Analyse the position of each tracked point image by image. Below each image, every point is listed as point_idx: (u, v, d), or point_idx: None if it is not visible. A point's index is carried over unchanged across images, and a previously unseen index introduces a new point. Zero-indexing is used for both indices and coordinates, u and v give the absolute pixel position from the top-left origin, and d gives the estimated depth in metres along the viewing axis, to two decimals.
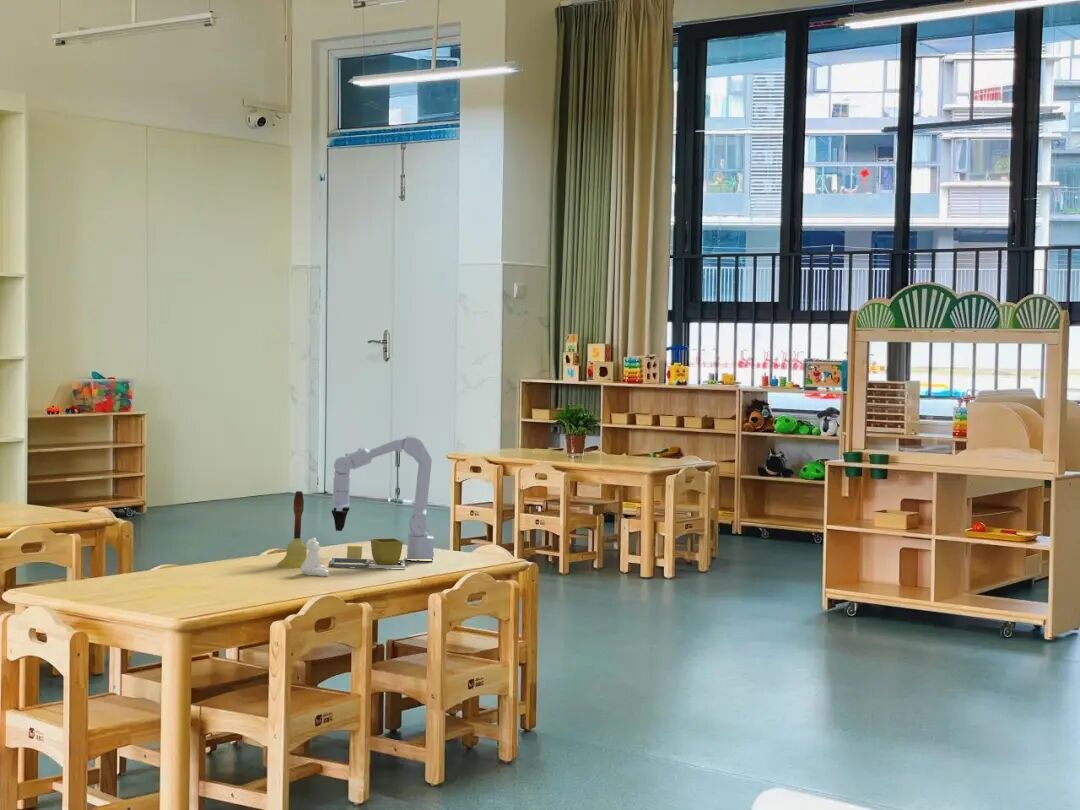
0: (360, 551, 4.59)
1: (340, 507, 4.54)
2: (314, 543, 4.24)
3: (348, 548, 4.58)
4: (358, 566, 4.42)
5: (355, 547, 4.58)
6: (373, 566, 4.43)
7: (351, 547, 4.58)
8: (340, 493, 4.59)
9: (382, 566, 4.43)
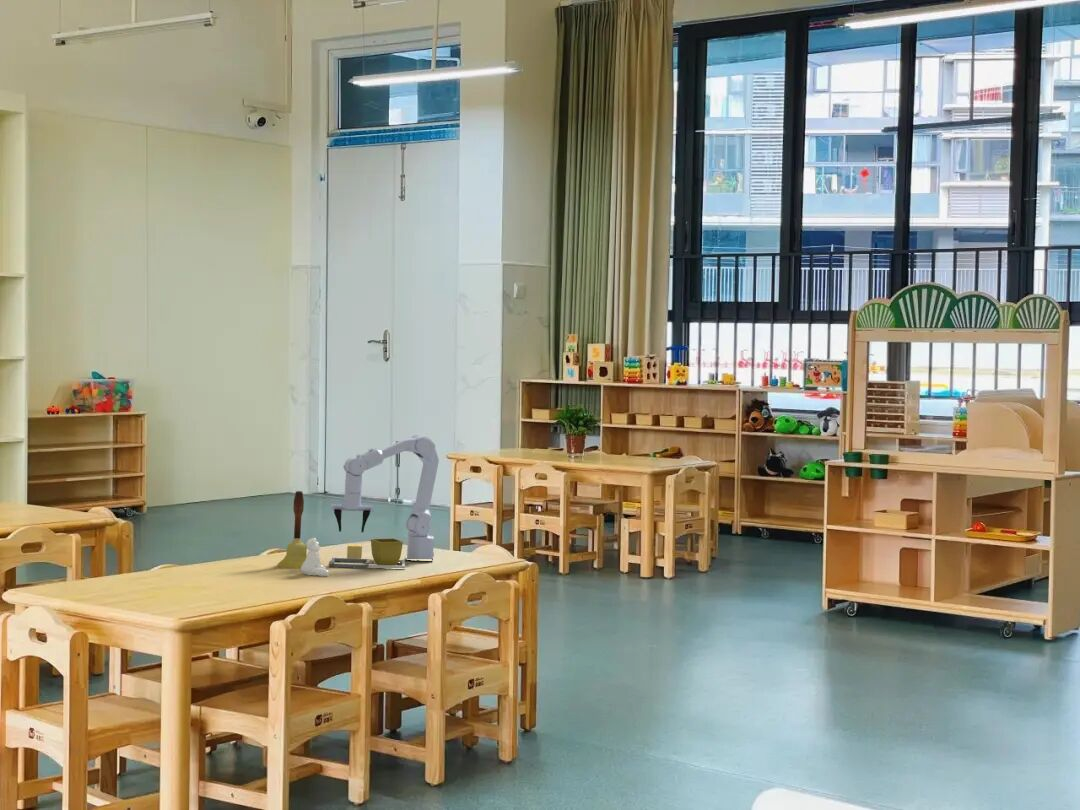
0: (360, 551, 4.59)
1: (331, 506, 4.53)
2: (314, 543, 4.24)
3: (348, 548, 4.58)
4: (358, 566, 4.42)
5: (355, 547, 4.58)
6: (373, 566, 4.43)
7: (351, 547, 4.58)
8: None
9: (382, 566, 4.43)
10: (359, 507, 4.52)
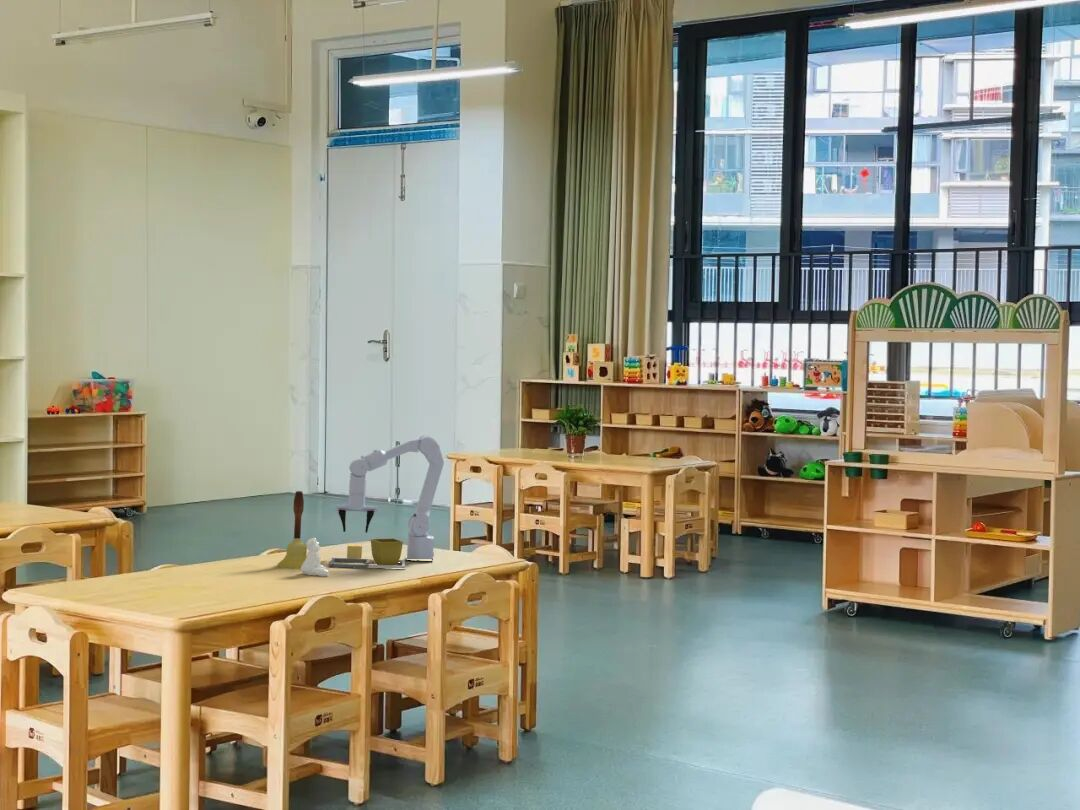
0: (360, 551, 4.59)
1: None
2: (314, 543, 4.24)
3: (348, 548, 4.58)
4: (358, 566, 4.42)
5: (355, 547, 4.59)
6: (373, 566, 4.43)
7: (351, 547, 4.58)
8: None
9: (382, 566, 4.43)
10: (363, 508, 4.58)
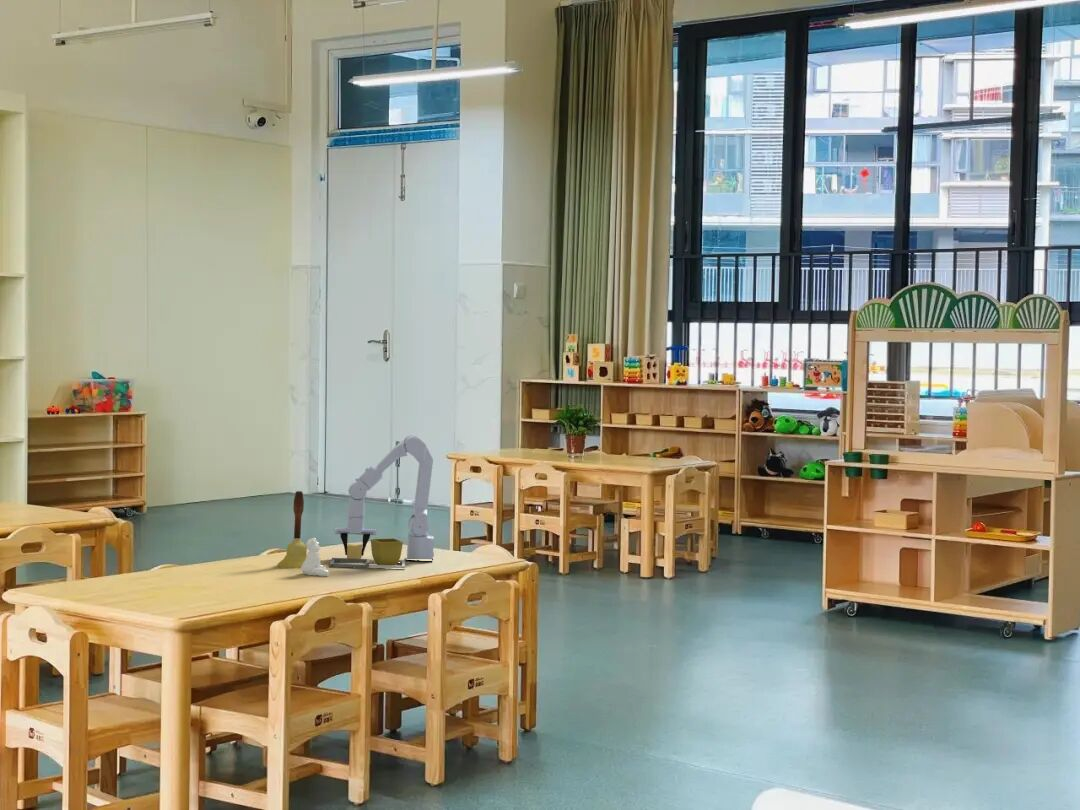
0: (360, 551, 4.59)
1: None
2: (314, 543, 4.24)
3: (348, 548, 4.58)
4: (358, 566, 4.42)
5: (355, 547, 4.59)
6: (373, 566, 4.43)
7: (351, 547, 4.58)
8: None
9: (382, 566, 4.43)
10: (362, 531, 4.59)
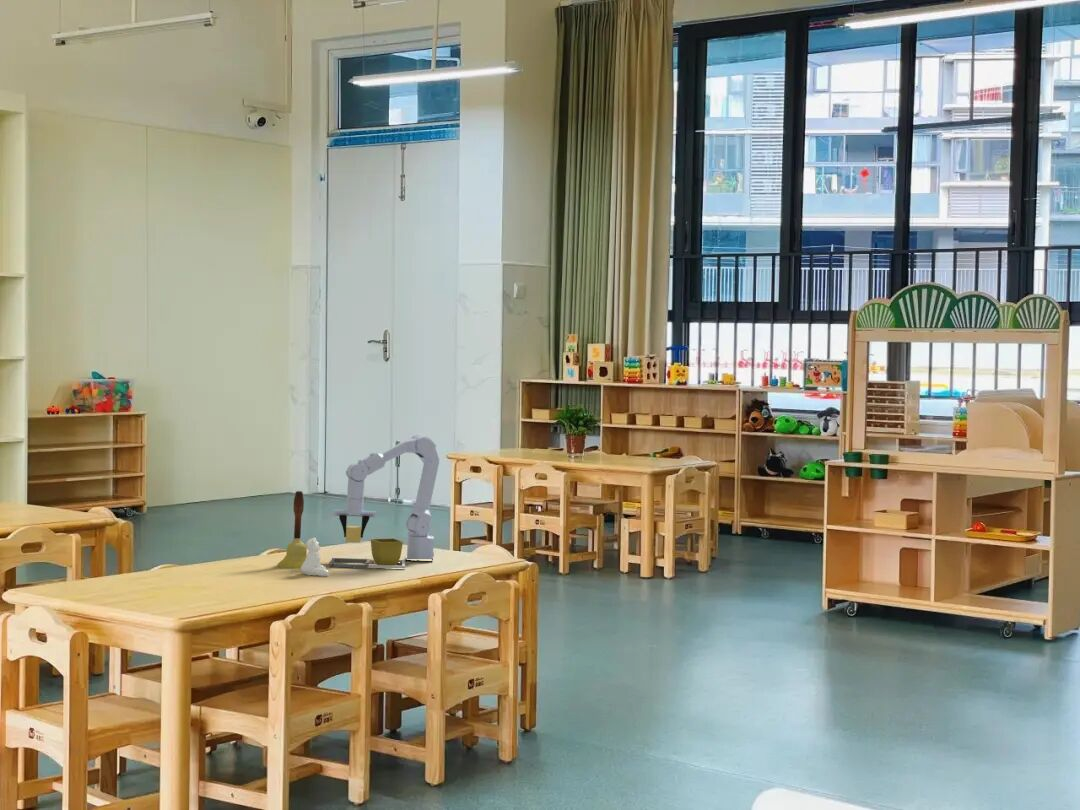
0: (359, 533, 4.53)
1: None
2: (314, 543, 4.24)
3: (347, 530, 4.53)
4: (358, 566, 4.42)
5: (354, 529, 4.53)
6: (373, 566, 4.43)
7: (350, 529, 4.53)
8: (347, 499, 4.55)
9: (382, 566, 4.43)
10: (361, 513, 4.53)
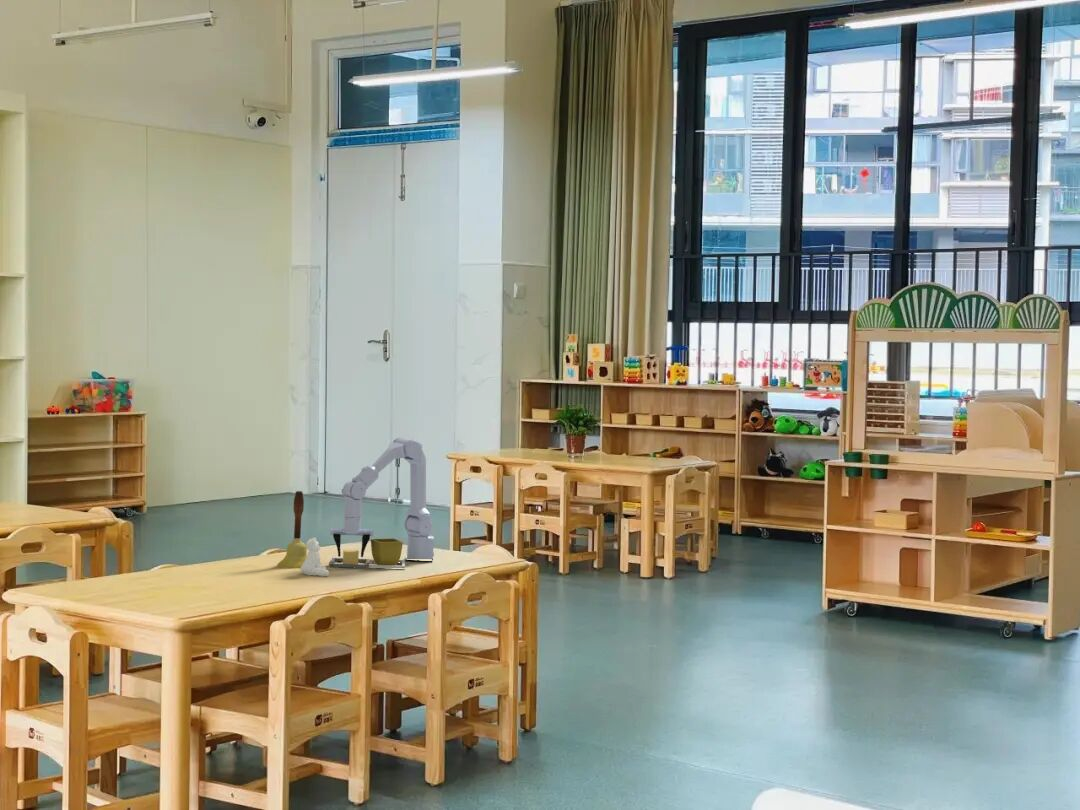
0: (357, 557, 4.46)
1: (330, 531, 4.46)
2: (314, 543, 4.24)
3: (344, 554, 4.45)
4: (358, 566, 4.42)
5: (352, 552, 4.46)
6: (373, 566, 4.43)
7: (347, 553, 4.46)
8: None
9: (382, 566, 4.43)
10: (359, 532, 4.46)
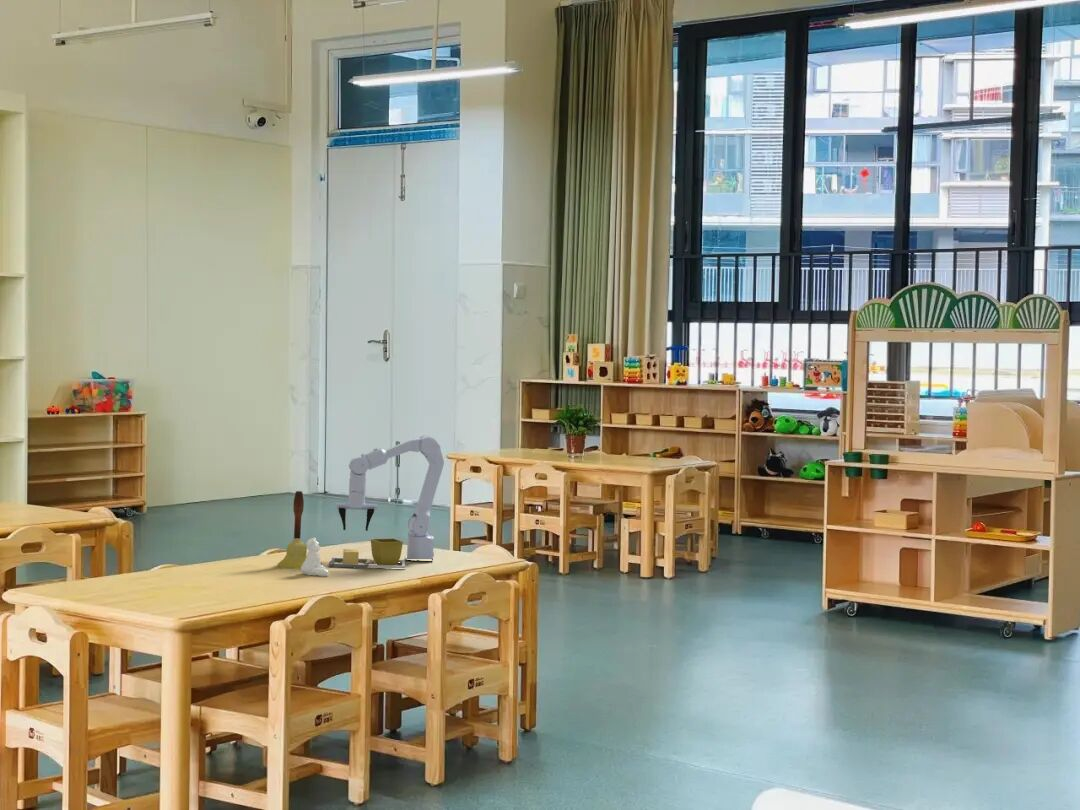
0: (357, 557, 4.46)
1: None
2: (314, 543, 4.24)
3: (344, 554, 4.45)
4: (358, 566, 4.42)
5: (352, 552, 4.46)
6: (373, 566, 4.43)
7: (347, 553, 4.46)
8: None
9: (382, 566, 4.43)
10: (363, 506, 4.57)
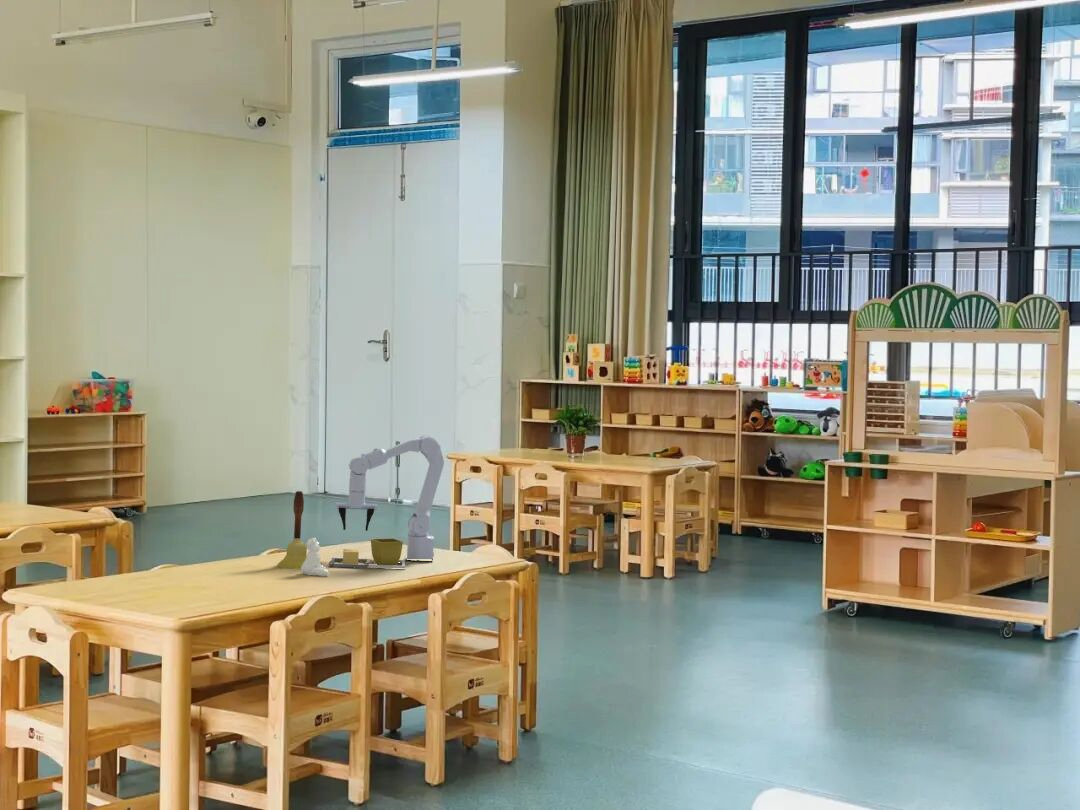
0: (357, 557, 4.46)
1: None
2: (314, 543, 4.24)
3: (344, 554, 4.45)
4: (358, 566, 4.42)
5: (352, 552, 4.46)
6: (373, 566, 4.43)
7: (347, 553, 4.46)
8: (349, 492, 4.59)
9: (382, 566, 4.43)
10: (363, 506, 4.57)
